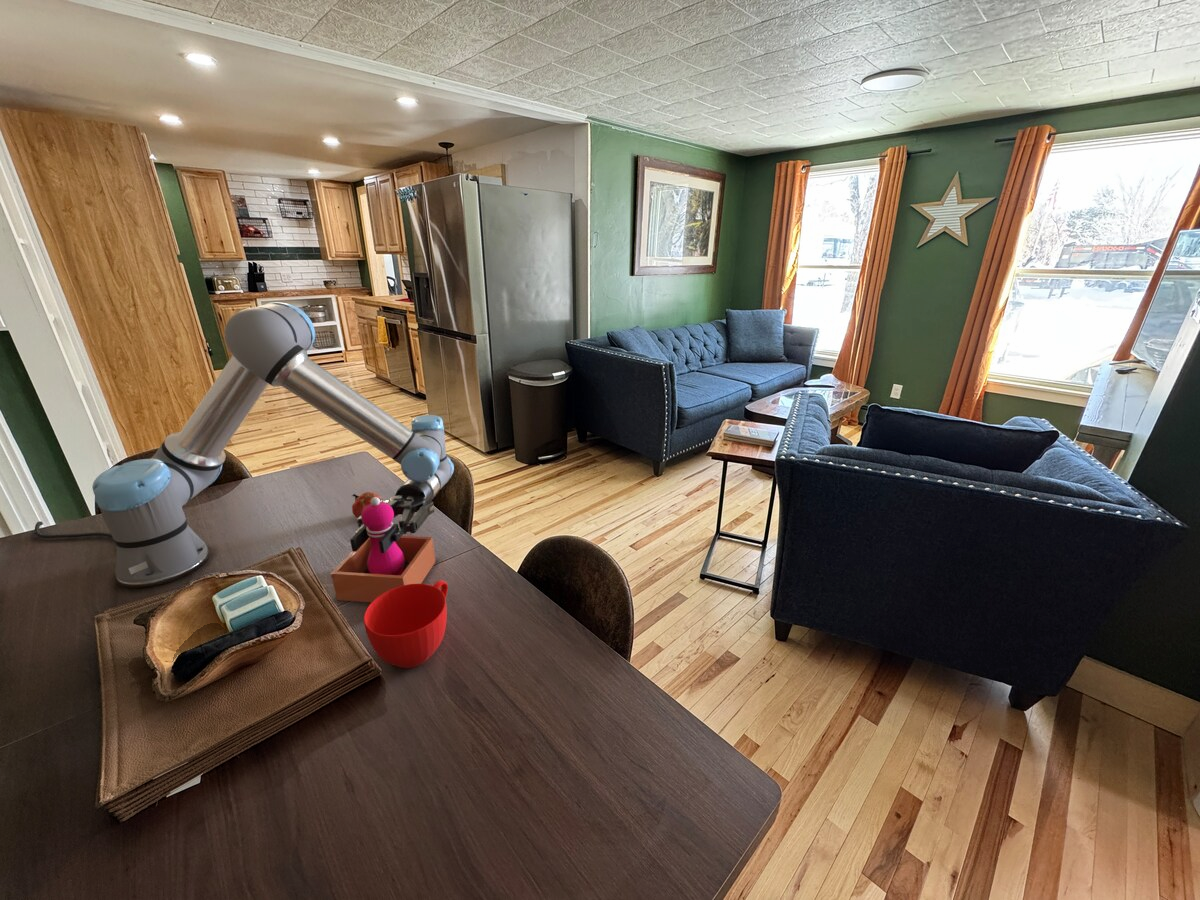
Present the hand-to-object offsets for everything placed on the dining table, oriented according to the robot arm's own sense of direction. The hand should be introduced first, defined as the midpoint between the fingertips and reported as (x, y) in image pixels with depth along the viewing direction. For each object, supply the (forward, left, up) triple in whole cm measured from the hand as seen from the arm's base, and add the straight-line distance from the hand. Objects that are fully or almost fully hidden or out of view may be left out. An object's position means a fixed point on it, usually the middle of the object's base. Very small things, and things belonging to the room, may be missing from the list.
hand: (367, 546), depth 92 cm
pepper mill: (-2, +5, -12) cm, 13 cm away
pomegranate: (-26, +23, -12) cm, 37 cm away
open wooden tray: (-2, +5, -12) cm, 13 cm away
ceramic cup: (+17, -7, -12) cm, 22 cm away
